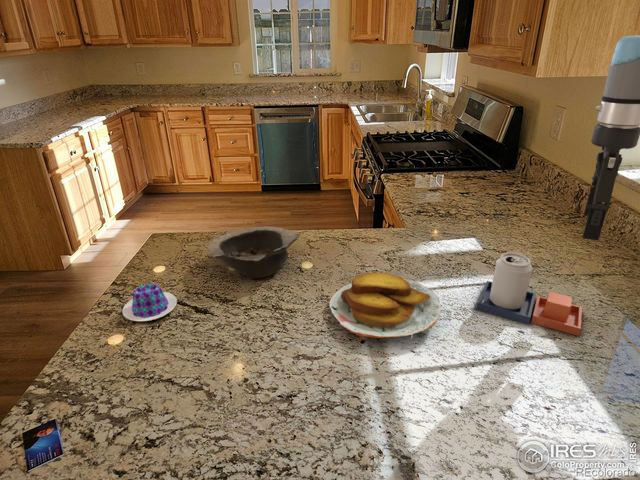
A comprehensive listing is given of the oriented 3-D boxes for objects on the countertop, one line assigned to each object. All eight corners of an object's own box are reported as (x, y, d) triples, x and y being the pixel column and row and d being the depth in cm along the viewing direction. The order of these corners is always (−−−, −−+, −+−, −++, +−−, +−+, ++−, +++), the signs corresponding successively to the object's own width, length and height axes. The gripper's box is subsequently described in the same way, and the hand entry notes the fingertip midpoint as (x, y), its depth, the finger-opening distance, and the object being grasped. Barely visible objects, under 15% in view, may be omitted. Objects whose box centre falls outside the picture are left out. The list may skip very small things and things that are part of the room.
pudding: (175, 290, 107) (172, 272, 104) (179, 316, 96) (175, 297, 94) (123, 300, 103) (119, 281, 100) (122, 329, 93) (117, 309, 90)
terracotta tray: (580, 313, 96) (582, 306, 96) (578, 336, 89) (581, 328, 89) (535, 302, 101) (537, 295, 100) (531, 322, 94) (532, 315, 93)
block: (567, 314, 96) (572, 296, 94) (565, 325, 92) (571, 307, 90) (544, 308, 98) (549, 291, 96) (542, 318, 94) (547, 301, 92)
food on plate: (367, 363, 82) (368, 336, 80) (310, 299, 102) (310, 276, 100) (465, 324, 93) (469, 299, 90) (396, 274, 113) (398, 252, 110)
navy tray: (534, 299, 102) (536, 292, 101) (528, 324, 93) (530, 317, 92) (485, 287, 107) (487, 280, 106) (475, 309, 98) (477, 302, 97)
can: (492, 291, 104) (500, 247, 99) (525, 299, 101) (536, 255, 96) (485, 306, 99) (494, 261, 93) (520, 316, 95) (531, 269, 90)
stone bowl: (278, 292, 105) (274, 259, 101) (193, 282, 113) (185, 251, 109) (312, 248, 125) (309, 219, 121) (238, 242, 134) (233, 215, 130)
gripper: (595, 113, 93) (572, 205, 102) (595, 135, 73) (567, 245, 82) (637, 115, 89) (609, 210, 98) (649, 139, 70) (613, 254, 79)
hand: (590, 226), depth 90 cm, fingers open, 13 cm apart
